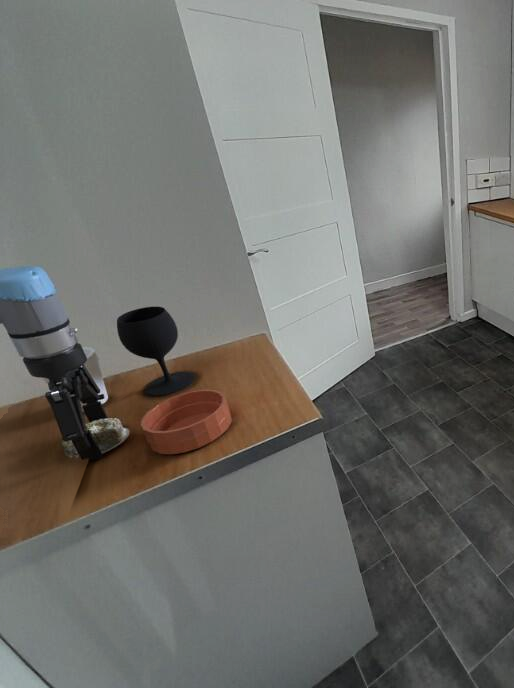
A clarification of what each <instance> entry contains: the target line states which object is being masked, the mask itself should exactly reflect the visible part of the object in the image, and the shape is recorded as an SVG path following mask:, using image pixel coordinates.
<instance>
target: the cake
mask: <svg viewBox="0 0 514 688" xmlns="http://www.w3.org/2000/svg"><path fill="white" fill-rule="evenodd" d="M108 418H109V419H108ZM108 418H105V419H100V420H97V421H93V422H91V423H90V422H87V423H85V424H86V428H87V430H90V431H91V433H92V435H93V437H94V439H95V441H96V443H97V445H98V447H99V449H100V451H101V453H102V454H105V453H107V452H109V451H111V450H112V449H115V448H117V447H118V446H119V445H121V444H122V443H124V441H125V440H126V439H127V438H128V437H129V435H130V429H128V428H126V427H124V426H123V425H122V422H121V420H120V419H119V418H117V417H115V418H112V417H108ZM61 448H62V450H63V451H64V454H65V456H66V457H68V458H80V456H79V454H78V452H77V450H76V448H75V447H74V445H73V443H72V441H71V440H70V441H67V442H64V440H62V441H61Z"/></svg>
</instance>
